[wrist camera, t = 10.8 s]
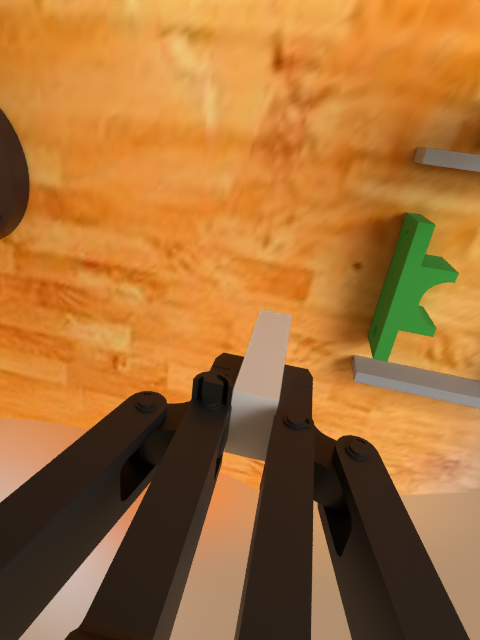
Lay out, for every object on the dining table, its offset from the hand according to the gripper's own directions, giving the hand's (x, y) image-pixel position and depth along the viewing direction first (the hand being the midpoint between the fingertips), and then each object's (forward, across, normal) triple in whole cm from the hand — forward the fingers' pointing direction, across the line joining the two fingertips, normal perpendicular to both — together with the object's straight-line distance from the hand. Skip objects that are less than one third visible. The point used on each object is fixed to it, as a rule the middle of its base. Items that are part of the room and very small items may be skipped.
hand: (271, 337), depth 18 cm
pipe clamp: (+17, +10, -1) cm, 19 cm away
